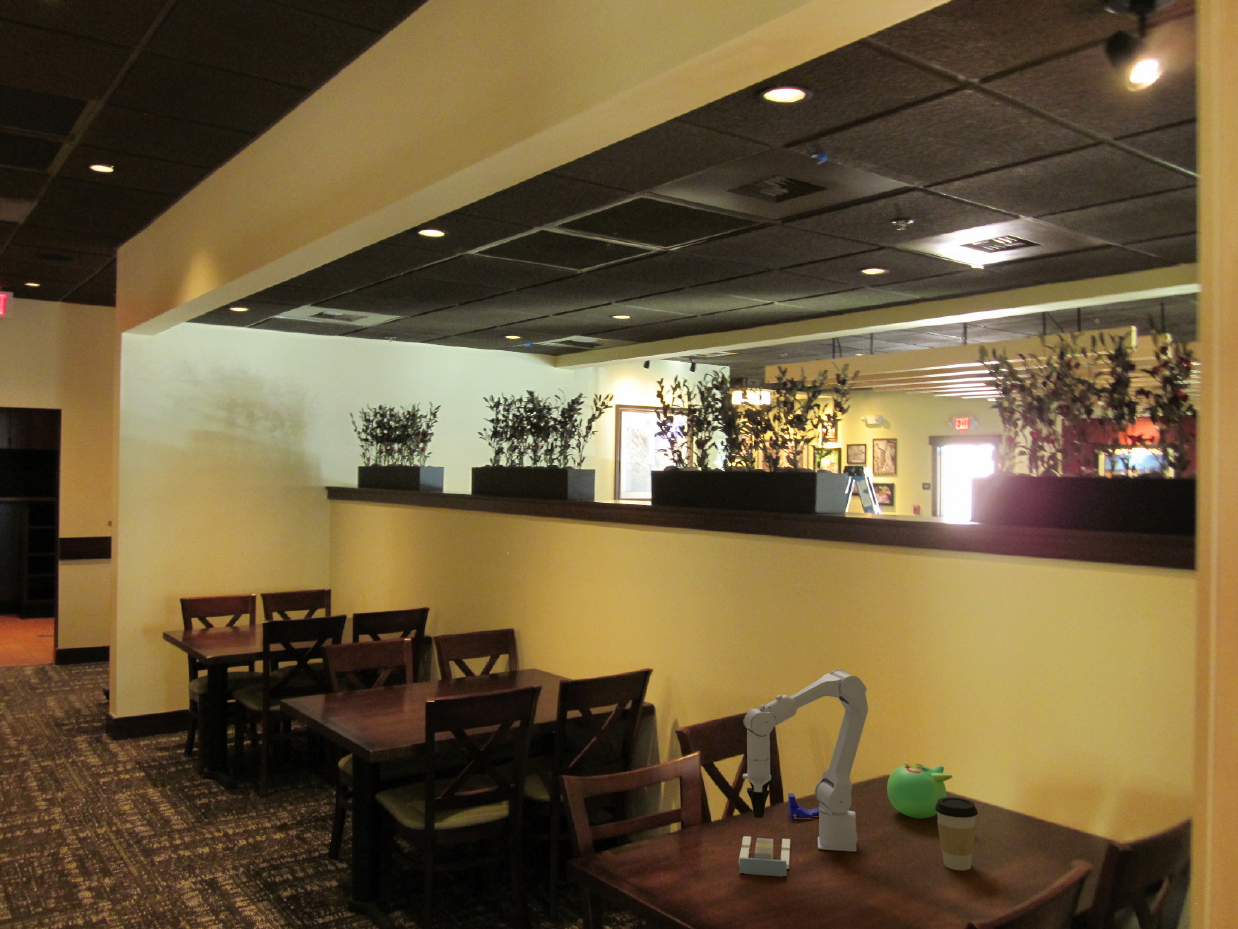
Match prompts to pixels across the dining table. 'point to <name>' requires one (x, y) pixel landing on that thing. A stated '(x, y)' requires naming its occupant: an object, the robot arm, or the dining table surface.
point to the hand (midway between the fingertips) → (759, 812)
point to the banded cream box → (764, 848)
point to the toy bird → (917, 789)
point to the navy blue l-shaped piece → (800, 809)
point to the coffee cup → (956, 831)
